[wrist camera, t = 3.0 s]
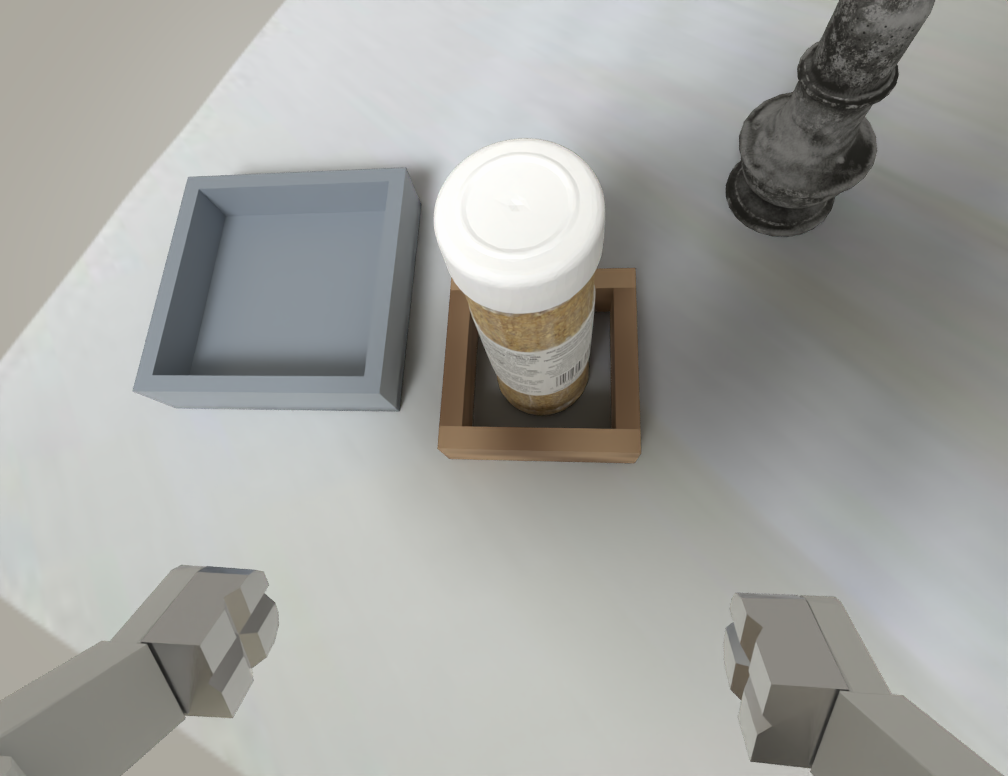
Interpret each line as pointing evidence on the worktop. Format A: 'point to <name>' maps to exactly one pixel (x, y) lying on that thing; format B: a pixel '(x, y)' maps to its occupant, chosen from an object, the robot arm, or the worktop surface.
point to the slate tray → (286, 293)
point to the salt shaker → (822, 119)
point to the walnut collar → (546, 443)
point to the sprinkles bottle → (527, 263)
